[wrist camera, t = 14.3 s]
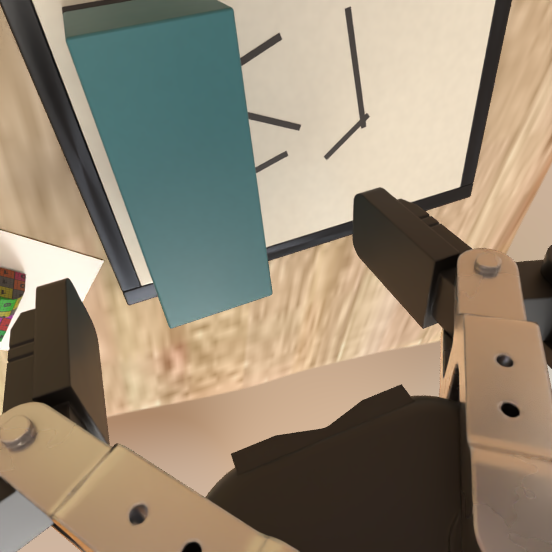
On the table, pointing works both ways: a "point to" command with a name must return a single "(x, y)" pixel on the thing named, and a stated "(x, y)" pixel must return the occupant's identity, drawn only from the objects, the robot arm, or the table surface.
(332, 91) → the whiteboard
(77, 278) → the picture card
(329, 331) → the table surface
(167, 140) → the eraser
